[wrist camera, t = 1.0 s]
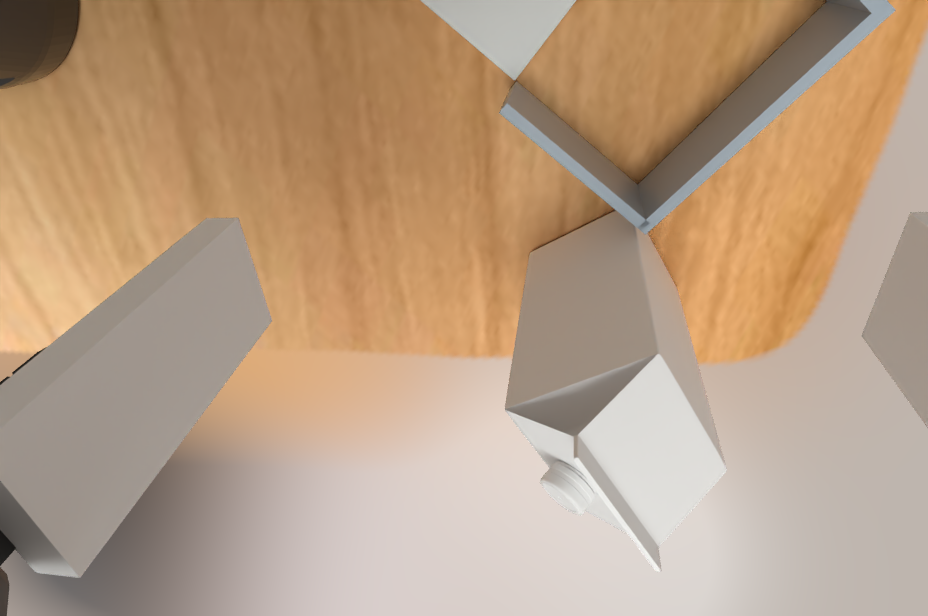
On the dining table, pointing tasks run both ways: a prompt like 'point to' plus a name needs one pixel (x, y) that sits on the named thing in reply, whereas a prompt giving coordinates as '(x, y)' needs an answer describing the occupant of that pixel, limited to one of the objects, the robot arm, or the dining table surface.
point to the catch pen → (722, 133)
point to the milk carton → (612, 384)
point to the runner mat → (503, 26)
